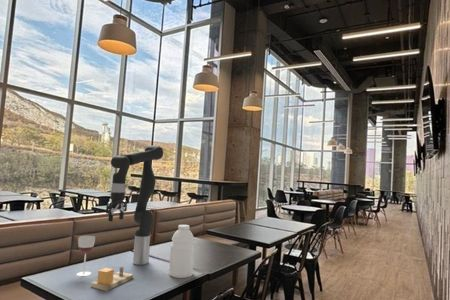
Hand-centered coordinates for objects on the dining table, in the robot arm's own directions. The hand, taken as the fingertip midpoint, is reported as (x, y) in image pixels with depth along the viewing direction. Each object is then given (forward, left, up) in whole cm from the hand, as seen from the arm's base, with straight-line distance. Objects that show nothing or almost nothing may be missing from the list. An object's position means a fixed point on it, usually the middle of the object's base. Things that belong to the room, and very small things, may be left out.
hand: (115, 220), depth 173 cm
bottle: (-21, +32, -30) cm, 49 cm away
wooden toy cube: (+14, +8, -28) cm, 32 cm away
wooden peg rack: (+8, +8, -30) cm, 32 cm away
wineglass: (+6, -14, -30) cm, 34 cm away
